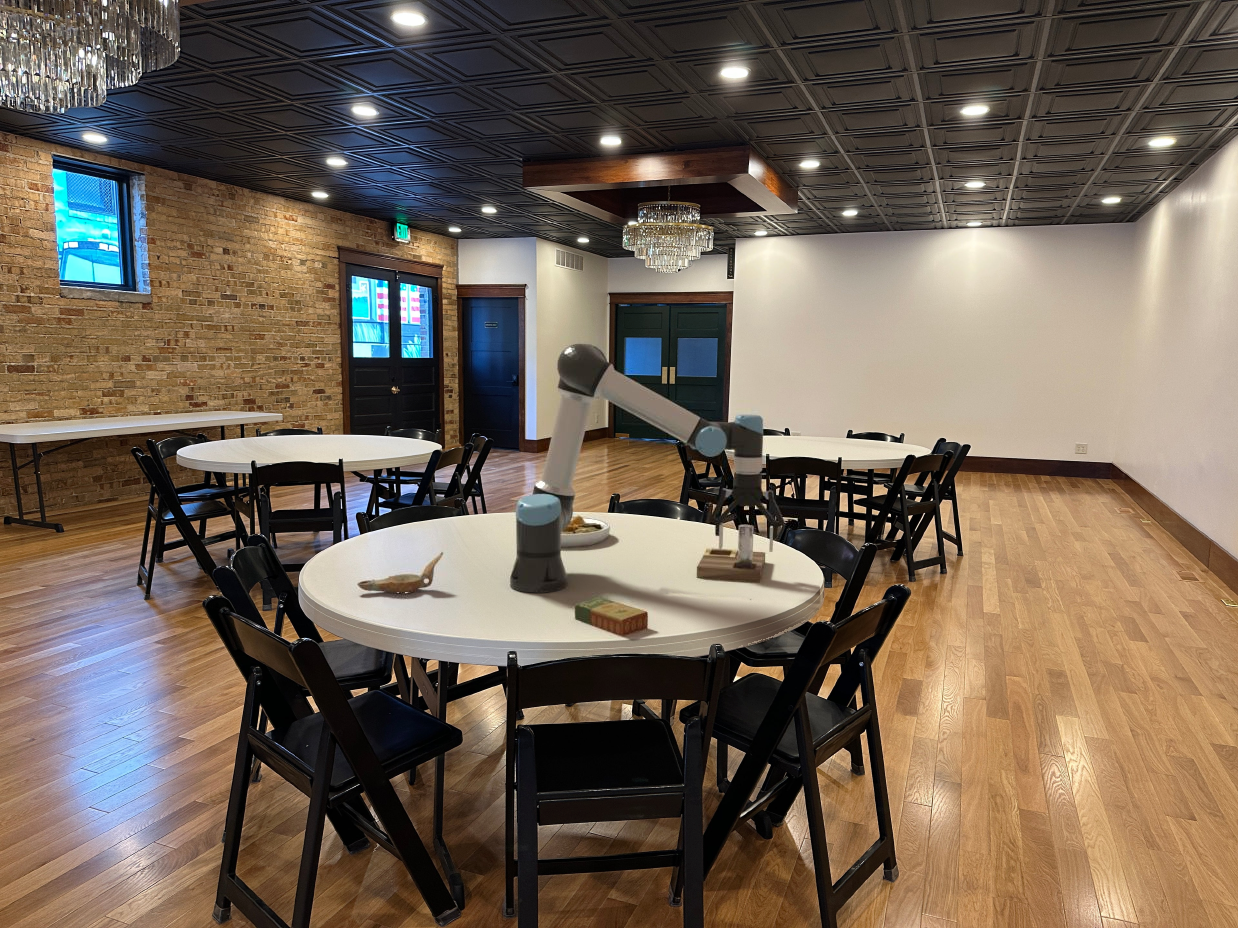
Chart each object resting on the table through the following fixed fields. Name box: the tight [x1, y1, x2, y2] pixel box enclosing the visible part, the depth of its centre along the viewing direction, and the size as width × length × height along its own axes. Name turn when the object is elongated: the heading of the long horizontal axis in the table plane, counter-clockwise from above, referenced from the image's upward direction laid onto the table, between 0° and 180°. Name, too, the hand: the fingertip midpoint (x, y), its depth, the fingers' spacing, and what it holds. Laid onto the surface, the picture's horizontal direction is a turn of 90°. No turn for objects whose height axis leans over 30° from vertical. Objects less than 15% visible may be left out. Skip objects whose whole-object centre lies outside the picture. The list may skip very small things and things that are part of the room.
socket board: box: [696, 547, 766, 583], centre depth 226 cm, size 22×17×4 cm
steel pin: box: [737, 524, 754, 569], centre depth 219 cm, size 4×4×14 cm
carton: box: [574, 596, 649, 637], centre depth 182 cm, size 8×16×4 cm, turn 44°
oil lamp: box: [356, 551, 444, 593], centre depth 205 cm, size 9×21×10 cm, turn 104°
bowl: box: [561, 515, 611, 548], centre depth 268 cm, size 30×30×8 cm
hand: (745, 549), depth 219 cm, fingers open, 13 cm apart
